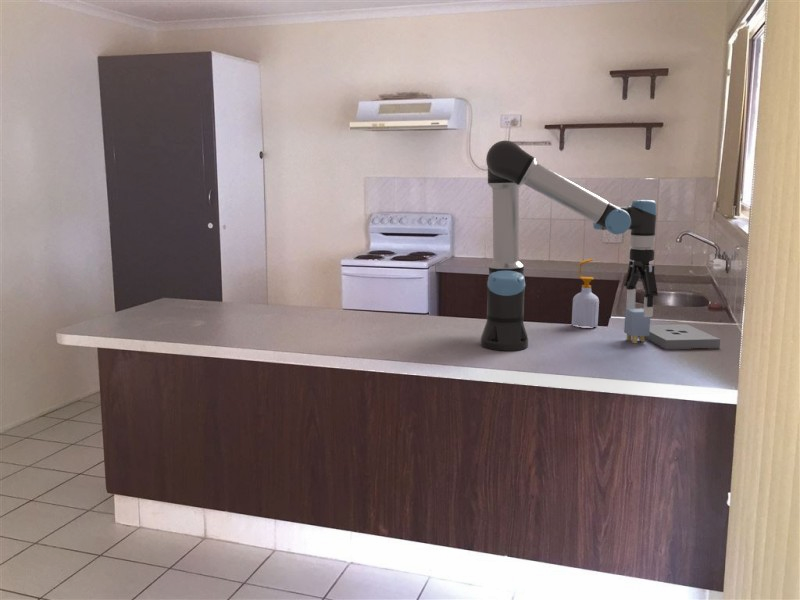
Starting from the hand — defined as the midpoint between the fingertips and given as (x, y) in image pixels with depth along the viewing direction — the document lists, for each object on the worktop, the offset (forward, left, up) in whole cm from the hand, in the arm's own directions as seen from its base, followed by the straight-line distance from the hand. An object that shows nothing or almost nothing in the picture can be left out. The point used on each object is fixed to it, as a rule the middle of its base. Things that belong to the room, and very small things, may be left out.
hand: (639, 312), depth 241 cm
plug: (0, 0, -10) cm, 10 cm away
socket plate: (+14, 0, -10) cm, 17 cm away
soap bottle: (-9, +24, -10) cm, 28 cm away
